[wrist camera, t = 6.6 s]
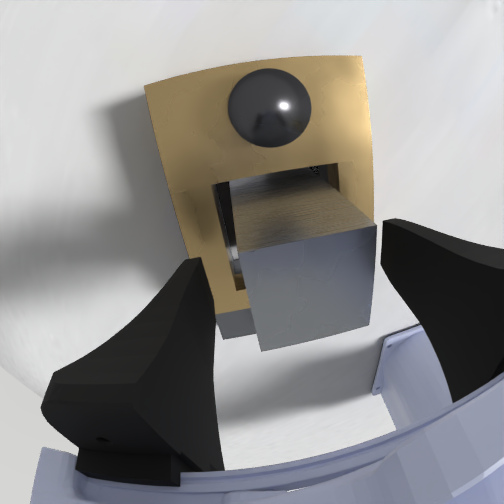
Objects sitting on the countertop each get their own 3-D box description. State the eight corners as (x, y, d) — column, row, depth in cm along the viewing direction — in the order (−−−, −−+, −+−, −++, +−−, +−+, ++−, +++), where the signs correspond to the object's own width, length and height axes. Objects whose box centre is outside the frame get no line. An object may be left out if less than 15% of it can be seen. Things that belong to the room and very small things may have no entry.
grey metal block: (310, 230, 17) (368, 324, 10) (243, 244, 17) (261, 351, 10) (303, 163, 15) (376, 224, 8) (228, 177, 15) (237, 253, 8)
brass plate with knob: (349, 296, 19) (373, 337, 16) (222, 323, 19) (224, 372, 16) (335, 62, 12) (374, 52, 8) (159, 89, 12) (135, 84, 8)
